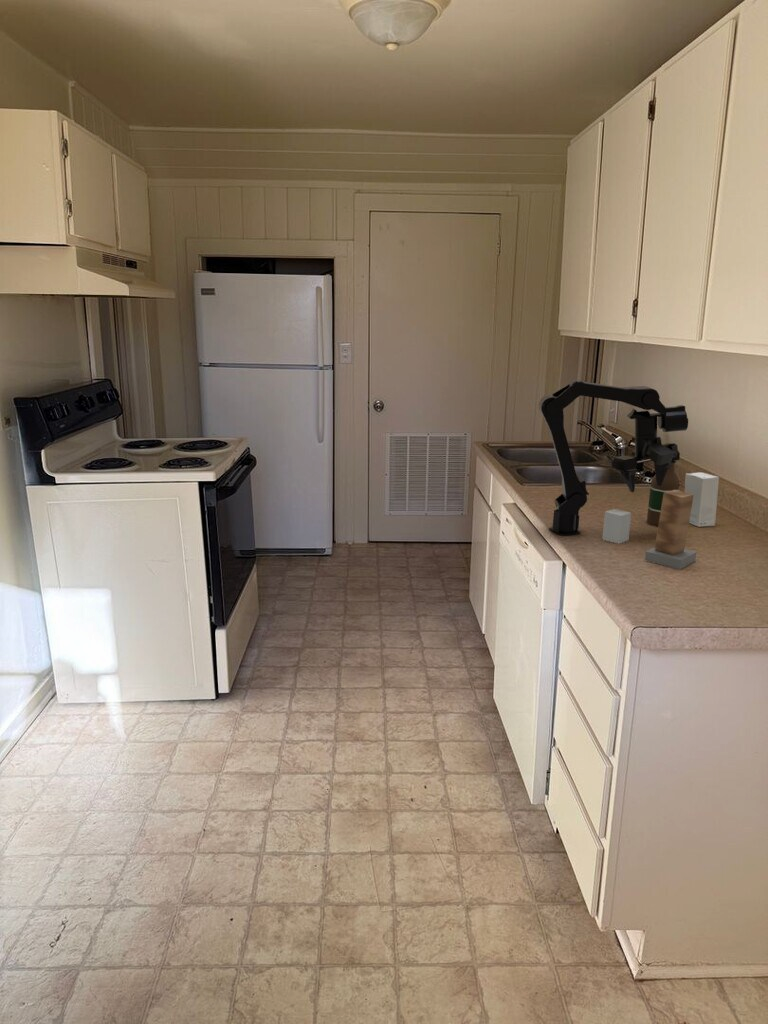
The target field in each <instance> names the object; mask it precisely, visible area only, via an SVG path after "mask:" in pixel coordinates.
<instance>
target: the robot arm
mask: <svg viewBox="0 0 768 1024" xmlns="http://www.w3.org/2000/svg"><path fill="white" fill-rule="evenodd" d="M579 397H586V398H587V397H588V398H595V399H603V400H609V401H615V402H620V403H621V402H622V403H625V404H627V405H631V406H633V407H636V408H639V409H643V410H640V411H639V410H638V411H637V409H635V408H632V410H631V411H630V412H628V414H626V417H627V418H628V419H630V420H634V436H632V437H631V442H634V450H633V451H631V456H628V455H625V454H624V455H620V456H615V457H614V456H613V458H612V459H611V468H613V469H615V470H617V471H619V473H620V475H621V476H622V477H623V479H624V482H625V483H626V485H627V488H628V489H629V492H631V493H634V492H635V489H636V487H635V485H636V482H635V481H636V474H637V472H638V469H637V466H638V464H642V463H643V464H644V463H648V462H653V464H654V465H653V466H654V472H655V474H656V481H657V485H658V486H661V485H662V482H663V480H664V477H665V475H666V472H667V470H668V468H669V467H670V466H671V465H672V464H674V465H675V464H676V463H677V461H678V460H679V461H680V459H681V453H680V452H679V447H678V444H676V443H675V442H671V444H668V446H667V445H663V443H662V438H661V437H660V436H658V429H660V430H662V432H663V433H670V432H683V431H686V430H687V429H688V428H689V427H688V426H689V418H688V415H687V411H686V406H685V405H676V406H675V405H674V406H667V407H666V406H665V405H664V404H663V403H662V402H661V400H660V394H659V392H658V391H657V390H656V389H655V388H651V387H649V386H646V385H645V386H643V385H642V386H626V387H625V386H624V387H623V386H615V385H609V384H602V383H595V382H588V381H587V382H586V381H582V380H579V379H573V380H572V381H570V382H569V384H567V385H566V386H564V387H562V388H560V389H558V390H557V391H555V392H554V393H552V394H547V395H543V396H542V398H541V399H540V400H539V402H538V409H539V412H540V414H541V416H542V419H543V420H544V422H545V424H546V426H547V428H548V430H549V433H550V436H551V442H552V444H553V448H554V451H555V455H556V459H557V462H558V466H559V470H560V474H561V490H562V491H561V492H562V493H561V494H559V495H558V496H557V497H556V498H555V499H554V500H553V501H554V504H555V507H556V509H554V510H553V516H552V517H553V518H552V527H549V531H551V530H552V532H554V533H555V532H556V534H557V533H558V535H559V534H560V536H567V535H577V534H581V530H579V528H580V527H579V526H580V515H579V513H580V512H579V511H580V510H581V508H583V507H584V506H585V505H586V503H587V502H588V496H589V495H590V493H589V492H588V490H587V486H586V485H587V484H586V480H585V479H584V478H583V477H582V476H579V477H578V476H577V472H576V470H575V466H574V462H573V461H574V460H573V457H572V453H571V451H570V446H569V443H568V439H567V436H566V431H565V427H564V426H565V425H564V423H565V421H564V419H565V415H564V409H565V408H567V407H568V406H569V405H571V403H572V402H574V401H576V399H577V398H579ZM651 410H652V411H655V413H653V412H652V413H650V411H651ZM632 456H633V457H632ZM655 474H654V475H655Z"/></svg>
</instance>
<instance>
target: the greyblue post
mask: <svg viewBox="0 0 768 1024" xmlns="http://www.w3.org/2000/svg"><path fill="white" fill-rule="evenodd" d="M603 517H604V520H603V529H602V538H601V540H602V539H603V540H602V541H605V540H606V541H605V542H609V541H610V543H613V542H614V543H613V544H616V543H618V544H617V545H620V544H622V542H623V543H625V541H626V542H628V541H629V539H630V530H631V518H632V512H631V511H626V510H621V509H618V508H613V509H610V510H606V511H604V516H603ZM619 543H620V544H619Z"/></svg>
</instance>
